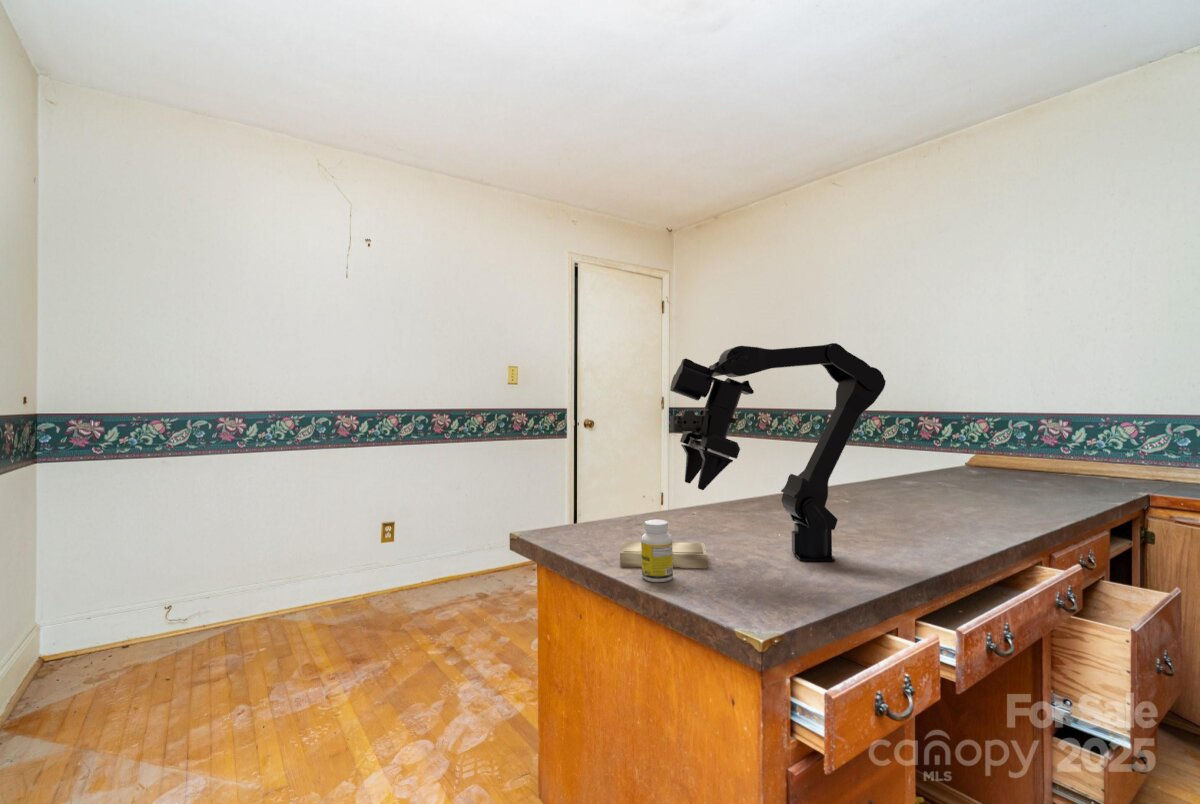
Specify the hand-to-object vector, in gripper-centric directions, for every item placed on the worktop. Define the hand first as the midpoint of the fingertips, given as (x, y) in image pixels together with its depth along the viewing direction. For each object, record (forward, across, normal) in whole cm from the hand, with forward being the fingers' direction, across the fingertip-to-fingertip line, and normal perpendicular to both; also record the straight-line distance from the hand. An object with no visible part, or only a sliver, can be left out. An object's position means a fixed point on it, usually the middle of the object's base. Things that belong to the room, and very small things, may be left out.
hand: (693, 485), depth 103 cm
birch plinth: (+16, -2, 0) cm, 16 cm away
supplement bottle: (+17, +8, -3) cm, 19 cm away
